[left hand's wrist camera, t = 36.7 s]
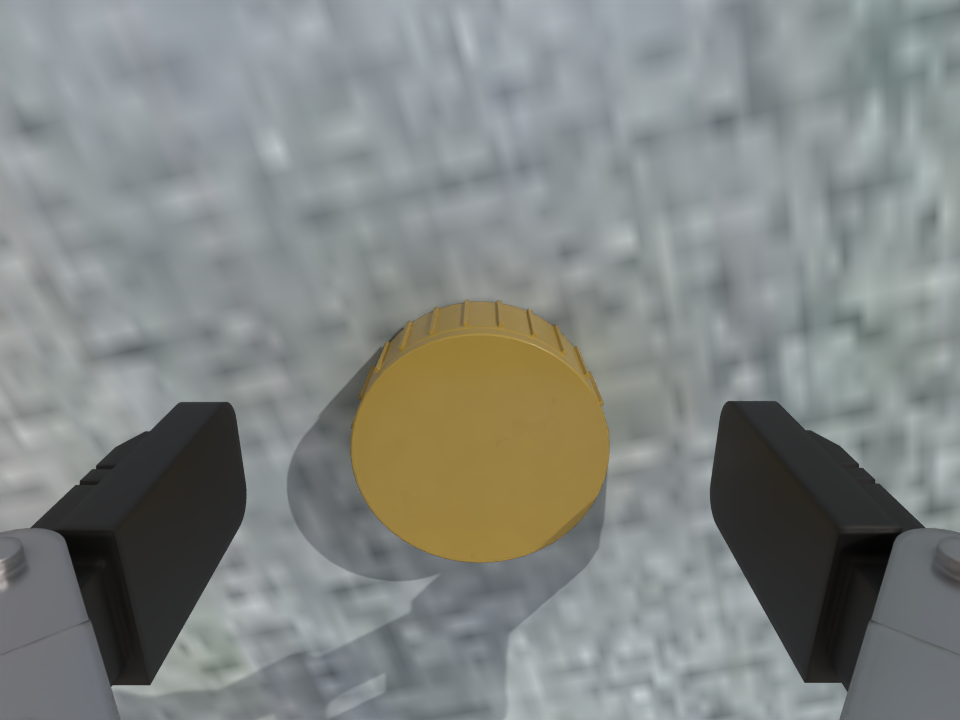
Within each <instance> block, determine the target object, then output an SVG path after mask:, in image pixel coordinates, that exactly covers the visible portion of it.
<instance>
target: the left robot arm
mask: <svg viewBox="0 0 960 720" xmlns="http://www.w3.org/2000/svg"><path fill="white" fill-rule="evenodd" d="M710 503H711V510H712V514H713V518H714V521H715V523H716V525H717V527H718V529H719V530H720V532H721V534H722V536H723V538H724V539H725V541H726V543H727V545H728V547H729V548H730V550H731V552H732V554H733V556H734V557H735V559H736V561H737V563H738V564H739V566H740V568H741V570H742V572H743V573H744V575H745V577H746V579H747V581H748V582H749V584H750V586H751V588H752V590H753V591H754V593H755V595H756V597H757V598H758V600H759V602H760V604H761V606H762V607H763V609H764V611H765V613H766V615H767V616H768V618H769V620H770V622H771V624H772V625H773V627H774V629H775V631H776V632H777V634H778V636H779V638H780V640H781V641H782V643H783V645H784V647H785V649H786V650H787V652H788V654H789V656H790V658H791V659H792V661H793V663H794V665H795V666H796V668H797V670H798V672H799V674H800V675H801V677H802V679H803V681H804V683H842V684H843V685H844V687H845V689H846V690H847V692H848V693H847V696H846V700H845V703H844V706H843V710H842V713H841V716H840V720H960V533H959V532H955V531H950V530H944V529H935V528H925V527H924V526H923V525H922V524H921V523H920V522H919V521H918V520H917V519H916V518H915V517H914V516H913V515H911V514H910V513H909V512H908V511H907V510H906V509H905V508H904V507H903V506H902V505H901V504H900V503H899V502H898V501H897V500H896V499H895V498H894V497H893V496H892V495H891V494H890V493H888V492H887V491H886V490H885V489H884V488H883V487H882V486H881V485H880V484H875V479H874V478H873V477H872V476H871V475H870V474H869V473H868V472H866V471H865V470H864V469H863V468H859V464H858V463H857V462H856V461H855V460H854V459H853V458H852V457H851V456H850V455H849V454H848V453H847V452H846V451H845V450H843V449H842V448H841V447H840V446H839V445H837V444H835V443H833V442H831V441H829V440H828V439H826V438H824V437H822V436H820V435H818V434H816V433H814V432H813V431H811V430H805V429H804V428H803V427H802V426H801V425H800V424H799V423H798V422H797V421H796V420H795V419H794V418H793V417H792V416H791V415H790V414H789V413H788V412H787V411H786V410H785V409H784V408H783V407H782V406H781V405H780V404H779V403H778V402H776V401H728V402H726V403H725V405H724V406H723V409H722V411H721V415H720V421H719V428H718V435H717V442H716V449H715V456H714V463H713V470H712V477H711V485H710ZM245 507H246V482H245V475H244V468H243V461H242V455H241V448H240V441H239V434H238V427H237V420H236V415H235V411H234V409H233V407H232V405H231V404H230V403H228V402H180V403H178V404H177V405H176V406H175V407H174V408H173V409H172V410H171V411H170V412H169V413H168V414H167V415H166V416H165V417H164V418H163V419H162V420H161V421H160V422H159V423H158V424H157V425H156V426H155V427H154V428H153V429H152V430H151V431H145V432H143V433H141V434H140V435H138V436H136V437H134V438H132V439H130V440H128V441H126V442H125V443H123V444H121V445H119V446H117V447H115V448H114V449H113V450H112V451H111V452H110V453H109V454H108V455H107V456H106V457H105V458H104V459H103V460H102V461H101V462H99V463H98V464H97V465H96V469H92V470H91V471H90V472H89V473H88V474H87V475H86V476H85V477H84V478H83V479H82V480H80V485H75V486H74V487H73V488H72V489H71V490H70V491H69V492H68V493H67V494H66V495H65V496H64V497H63V498H62V499H60V500H59V501H58V502H57V503H56V504H55V505H54V506H53V507H52V508H51V509H50V510H49V511H48V512H47V513H46V514H45V515H44V516H43V517H41V518H40V519H39V520H38V521H37V522H36V523H35V524H34V525H33V526H32V527H31V528H25V529H16V530H10V531H5V532H1V533H0V720H120V716H119V713H118V710H117V706H116V703H115V700H114V696H113V693H112V690H111V687H112V685H150V684H151V683H152V681H153V679H154V677H155V676H156V674H157V672H158V670H159V668H160V667H161V665H162V663H163V661H164V660H165V658H166V656H167V654H168V653H169V651H170V649H171V647H172V645H173V644H174V642H175V640H176V638H177V637H178V635H179V633H180V631H181V630H182V628H183V626H184V624H185V622H186V621H187V619H188V617H189V615H190V614H191V612H192V610H193V608H194V607H195V605H196V603H197V601H198V600H199V598H200V596H201V594H202V592H203V591H204V589H205V587H206V585H207V584H208V582H209V580H210V578H211V577H212V575H213V573H214V571H215V569H216V568H217V566H218V564H219V562H220V561H221V559H222V557H223V555H224V554H225V552H226V550H227V548H228V546H229V545H230V543H231V541H232V539H233V538H234V536H235V534H236V532H237V531H238V529H239V527H240V525H241V523H242V520H243V517H244V513H245Z"/></svg>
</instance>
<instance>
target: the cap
mask: <svg viewBox="0 0 960 720" xmlns="http://www.w3.org/2000/svg"><path fill="white" fill-rule="evenodd" d="M358 399H361V402H360V405H359V407H358V410H357V413H356V415H355V418H354V420H353V423H352V427H351V428H352V434H351V451H350V453H351V461H352V468H353V472H354V475H355V479H356V482H357V485H358V487H359V489H360V491H361V494H362V496H363V498H364V499H365V501H366V503H367V504H368V506H369V507H370V509H371V510H372V511H373V513H374V514H375V515H376V516H377V518H378V519H379V520H380V521H381V522H382V523H383V524H384V525H385V526H386V527H387V528H388V529H389V530H390V531H391V532H393V533H394V534H395V535H397V536H398V537H399V538H401V539H402V540H404V541H405V542H407V543H409V544H411V545H412V546H414V547H416V548H418V549H420V550H422V551H425V552H427V553H429V554H432V555H435V556H439V557H442V558H445V559H450V560H456V561H461V562H474V563H484V562H498V561H505V560H510V559H514V558H518V557H522V556H525V555H528V554H530V553H533V552H536V551H538V550H540V549H542V548H544V547H546V546H548V545H550V544H552V543H553V542H555V541H556V540H558V539H559V538H561V537H562V536H564V535H565V534H566V533H567V532H569V531H570V530H571V529H572V528H573V527H574V526H575V525H576V524H577V523H578V522H579V521H580V520H581V519H582V518H583V517H584V516H585V514H586V513H587V512H588V510H589V509H590V507H591V506H592V504H593V503H594V501H595V500H596V498H597V496H598V494H599V492H600V490H601V488H602V485H603V482H604V479H605V476H606V472H607V467H608V461H609V444H610V443H609V430H608V427H607V424H606V420H605V416H604V413H603V410H602V408H601V406H602V405H604V403H603V401H602V398H601V396H600V393H599V391H598V388H597V386H596V383H595V381H594V379H593V376H592V374H591V371H590V372H588V371H587V368H586V366H585V363H584V361H583V358H582V356H581V353H580V351H579V348H578V347H577V346H575V347H573V346H572V344H571V343H570V342H569V341H568V340H567V338H566V337H565V336H564V335H563V334H562V333H560V330H559V327H558V326H557V325H554V326H552V325H551V324H549V323H548V322H546V321H545V320H544V319H542V318H540V317H538V316H536V315H534V314H533V312H532V310H530V309H528V310H527V311H525V310H523V309H520V308H517V307H514V306H510V305H505V304H502V301H497V303H492V302H470V300H465V303H460V304H454V305H450V306H447V307H443V308H440V309H439V307H435V308H434V310H433V311H432V312H430V313H428V314H426V315H423V316H422V317H420V318H419V319H417V320H415V321H414V322H411V321H409V322H407V324H406V326H405V328H404V329H403V330H402V331H401V332H399V333H398V334H397V336H396V337H395V338H394V339H393V340H392V341H391V342H388V341H387V342H386V343H385V345H384V348H383V350H382V353H381V355H380V358H379V360H378V362H377V364H376V366H375V367H374V366H372V367H371V369H370V372H369V374H368V376H367V379H366V381H365V384H364V386H363V388H362V391H361V393H360V395H359V398H358Z"/></svg>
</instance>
